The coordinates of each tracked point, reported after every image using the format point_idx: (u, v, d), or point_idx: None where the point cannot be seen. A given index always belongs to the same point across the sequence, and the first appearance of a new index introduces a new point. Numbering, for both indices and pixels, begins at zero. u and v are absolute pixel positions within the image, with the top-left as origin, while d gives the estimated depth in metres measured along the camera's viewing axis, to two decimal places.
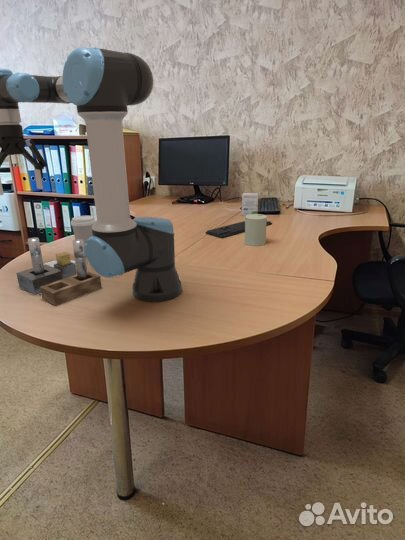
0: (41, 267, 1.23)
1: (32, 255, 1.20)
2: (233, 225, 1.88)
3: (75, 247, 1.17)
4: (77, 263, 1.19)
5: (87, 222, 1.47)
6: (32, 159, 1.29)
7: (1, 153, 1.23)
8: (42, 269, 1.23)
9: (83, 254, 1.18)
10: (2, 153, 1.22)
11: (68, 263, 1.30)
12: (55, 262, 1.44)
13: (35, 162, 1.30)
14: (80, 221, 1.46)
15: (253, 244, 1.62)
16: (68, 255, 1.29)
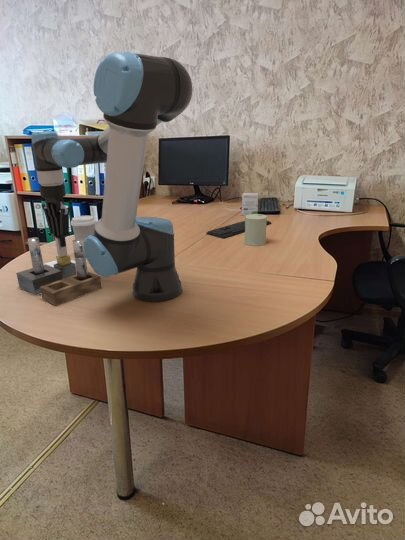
0: (41, 267, 1.23)
1: (32, 255, 1.20)
2: (233, 225, 1.88)
3: (75, 247, 1.17)
4: (77, 263, 1.19)
5: (87, 222, 1.47)
6: (56, 224, 1.24)
7: None
8: (42, 269, 1.23)
9: (83, 254, 1.18)
10: None
11: None
12: (55, 262, 1.44)
13: (57, 228, 1.24)
14: (80, 221, 1.46)
15: (253, 244, 1.62)
16: (68, 257, 1.29)
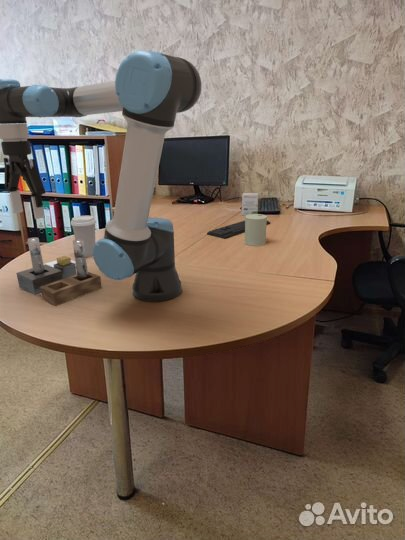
0: (41, 267, 1.23)
1: (32, 255, 1.20)
2: (233, 225, 1.88)
3: (75, 247, 1.17)
4: (77, 263, 1.19)
5: (87, 222, 1.47)
6: (27, 183, 1.10)
7: None
8: (42, 269, 1.23)
9: (83, 254, 1.18)
10: None
11: None
12: (55, 262, 1.43)
13: (29, 187, 1.10)
14: (80, 221, 1.46)
15: (253, 244, 1.62)
16: (69, 259, 1.30)
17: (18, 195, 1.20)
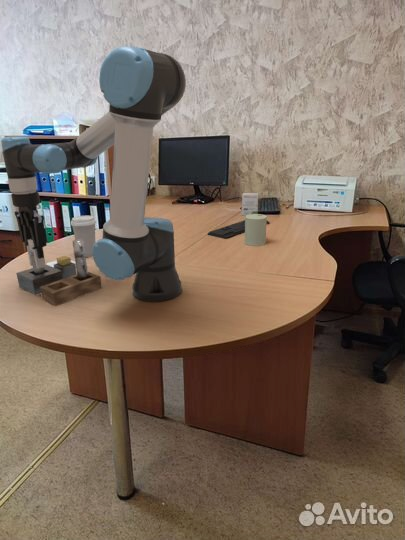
0: None
1: (32, 255, 1.20)
2: (233, 225, 1.88)
3: (75, 247, 1.17)
4: (77, 263, 1.19)
5: (87, 222, 1.47)
6: (32, 234, 1.17)
7: None
8: (42, 269, 1.23)
9: (83, 254, 1.18)
10: None
11: None
12: (55, 263, 1.43)
13: (33, 239, 1.18)
14: (80, 221, 1.46)
15: (253, 244, 1.62)
16: (69, 259, 1.30)
17: None
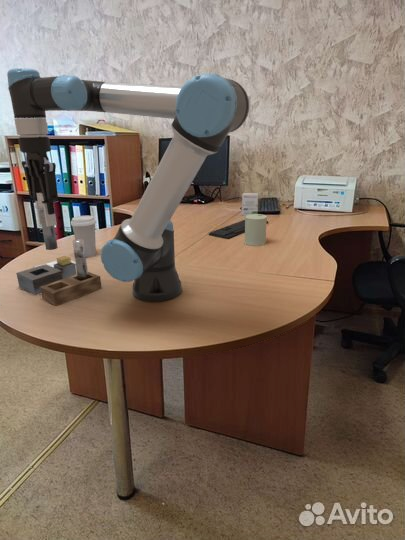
0: None
1: (41, 211, 1.06)
2: (233, 225, 1.87)
3: (75, 247, 1.17)
4: (77, 263, 1.19)
5: (87, 222, 1.47)
6: (41, 186, 1.03)
7: None
8: (52, 228, 1.09)
9: (83, 254, 1.18)
10: None
11: None
12: (54, 263, 1.43)
13: (42, 191, 1.03)
14: (80, 221, 1.46)
15: (253, 244, 1.62)
16: (69, 259, 1.30)
17: None
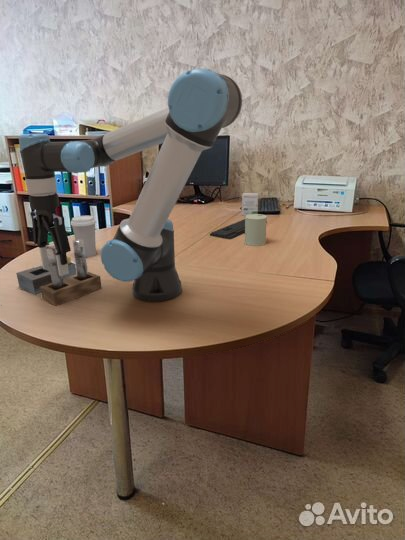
0: (60, 278, 1.14)
1: (51, 265, 1.12)
2: (233, 225, 1.87)
3: (75, 247, 1.17)
4: (77, 263, 1.19)
5: (87, 222, 1.47)
6: (53, 239, 1.07)
7: None
8: (61, 280, 1.14)
9: (83, 254, 1.18)
10: None
11: None
12: None
13: (55, 244, 1.07)
14: (80, 221, 1.46)
15: (253, 244, 1.62)
16: (69, 259, 1.30)
17: None
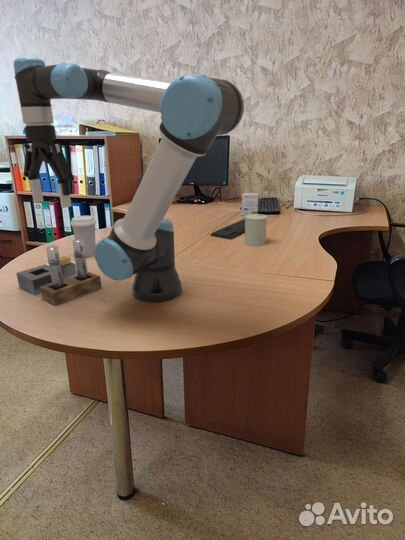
0: (60, 278, 1.14)
1: (51, 265, 1.12)
2: (233, 225, 1.87)
3: (75, 247, 1.17)
4: (77, 263, 1.19)
5: (87, 222, 1.47)
6: (53, 169, 1.03)
7: None
8: (61, 280, 1.14)
9: (83, 254, 1.18)
10: None
11: None
12: None
13: (56, 173, 1.03)
14: (80, 221, 1.46)
15: (253, 244, 1.62)
16: (69, 259, 1.30)
17: (38, 183, 1.13)
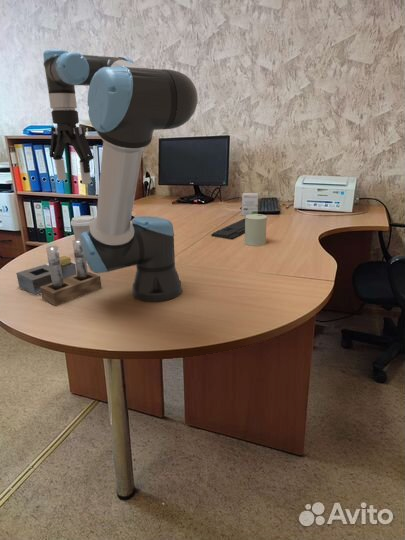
0: (60, 278, 1.14)
1: (51, 265, 1.12)
2: (233, 225, 1.87)
3: (75, 247, 1.17)
4: (77, 263, 1.19)
5: (87, 222, 1.47)
6: (76, 149, 1.16)
7: None
8: (61, 280, 1.14)
9: (83, 254, 1.18)
10: None
11: None
12: None
13: (78, 153, 1.16)
14: (80, 221, 1.46)
15: (253, 244, 1.62)
16: (69, 259, 1.30)
17: (62, 163, 1.26)
